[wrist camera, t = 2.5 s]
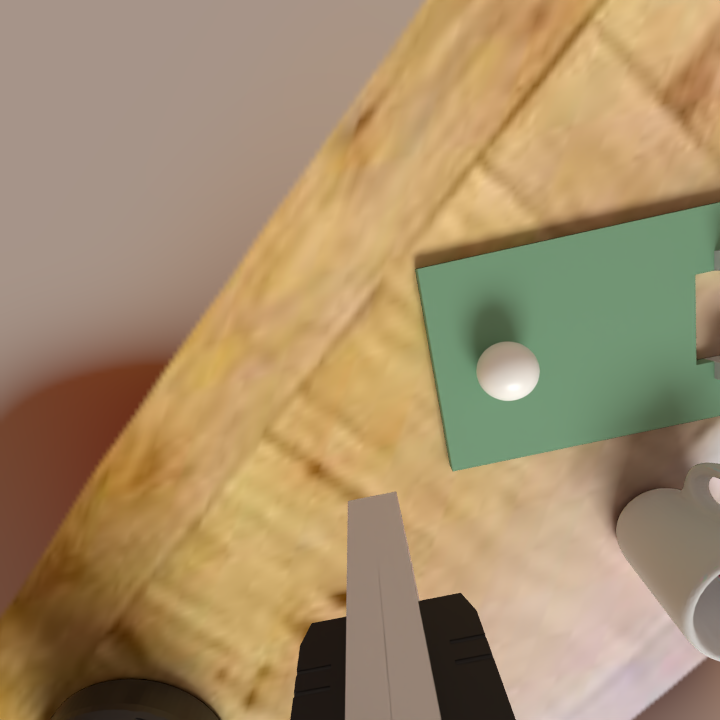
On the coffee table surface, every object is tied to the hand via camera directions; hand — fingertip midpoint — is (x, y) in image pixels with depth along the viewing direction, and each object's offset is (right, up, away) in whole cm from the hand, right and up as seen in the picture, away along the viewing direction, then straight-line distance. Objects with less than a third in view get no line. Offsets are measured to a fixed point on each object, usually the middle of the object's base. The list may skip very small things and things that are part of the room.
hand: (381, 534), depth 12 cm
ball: (+8, +5, +12) cm, 15 cm away
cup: (+21, -5, +18) cm, 28 cm away
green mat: (+17, +7, +14) cm, 23 cm away
